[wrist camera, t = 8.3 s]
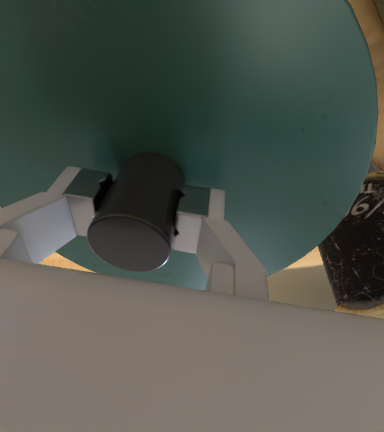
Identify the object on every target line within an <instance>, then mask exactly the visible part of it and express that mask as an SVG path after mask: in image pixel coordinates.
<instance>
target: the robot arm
mask: <svg viewBox="0 0 384 432" xmlns="http://www.w3.org/2000/svg"><path fill="white" fill-rule="evenodd" d="M112 183H113V176H112V174H111V173H108V172H103V171H97V170H92V169H86V168H80V167H73V166H68V167H66V168H65V170H64V171H63V172H62V173H61V174H60V176H59V177H58V178H57V179H56V181H55V182H54V183H53V184H52V185H51V187H50V188H49V189H48V190H47V192H40V193H37V194H35V195H32V196H30V197H28V198H25V199H23V200H20V201H18V202H15V203H13V204H11V205H8V206H6V207H3V208H1V209H0V432H384V319H382V318H376V317H370V316H363V315H357V314H351V313H344V312H338V311H332V310H325V309H319V308H313V307H306V306H300V305H293V304H288V303H281V302H275V301H269V295H268V286H267V285H268V284H267V274H266V268H265V267H264V266H263V264H262V263H261V262H260V261H259V259H258V258H257V257H256V256H255V254H254V253H253V252H252V251H251V249H250V248H249V247H248V246H247V244H246V243H245V242H244V240H243V239H242V238H241V237H240V235H239V234H238V233H237V232H236V230H235V229H234V228H233V227H232V225H231V224H230V223H229V222H228V221H226V220H224V204H225V191H224V190H223V189H215V188H204V187H197V186H191V185H184V184H183V186H182V190H181V198H180V199H179V203H178V208H177V213H176V222H175V228H176V233H175V238H174V244H173V250H177V251H183V252H188V253H194V254H196V256H197V258H198V260H199V262H200V264H201V266H202V268H203V270H204V272H205V274H206V276H207V278H208V281H207V285H206V289H205V290H199V289H193V288H187V287H180V286H174V285H168V284H162V283H155V282H149V281H143V280H136V279H130V278H124V277H117V276H111V275H105V274H99V273H92V272H86V271H80V270H73V269H67V268H61V267H54V266H48V265H42V264H38V263H40V262H41V261H42V260H44V259H45V258H47V257H48V256H50V255H51V254H52V253H54V252H55V251H57V250H58V249H59V248H61V247H62V246H64V245H65V244H66V243H68V242H69V241H71V240H72V239H73V238H75V237H76V235H79V236H87V230H88V227H89V225H90V223H91V221H92V220H93V218H94V216H95V214H96V212H97V210H98V209H99V207H100V205H101V203H102V201H103V199H104V198H105V196H106V194H107V192H108V190H109V188H110V187H111V185H112Z"/></svg>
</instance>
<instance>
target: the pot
mask: <svg viewBox="0 0 384 432" xmlns="http://www.w3.org/2000/svg"><path fill="white" fill-rule="evenodd" d="M375 3H376V7H377V10H378V13H379V15H380V18H381V20H382V22H383V24H384V0H375Z"/></svg>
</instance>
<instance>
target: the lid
mask: <svg viewBox="0 0 384 432" xmlns="http://www.w3.org/2000/svg"><path fill="white" fill-rule="evenodd" d="M377 122H378V100H377V86H376V77H375V73H374V69H373V65H372V60H371V56H370V52H369V48H368V44H367V42H366V39H365V37H364V35H363V32H362V30H361V27H360V25H359V23H358V20H357V18H356V16H355V13H354V11H353V9H352V7H351V5H350V4H349V2H348V1H347V0H0V207H1V208H3V207H6V206H8V205H11V204H13V203H15V202H18V201H20V200H23V199H25V198H28V197H30V196H32V195H35V194H37V193H40V192H47V190H48V189H49V188H50V187H51V185H52V184H53V183H54V182H55V181H56V179H57V178H58V177H59V176H60V174H61V173H62V172H63V171H64V170H65V168H66V167H68V166H73V167H80V168H86V169H92V170H97V171H103V172H108V173H111V174H112V176H113V183H112V185H111V187H110V188H109V190H108V192H107V194H106V196H105V198H104V199H103V201H102V203H101V205H100V207H99V209H98V210H97V212H96V214H95V216H94V218H93V220H92V221H91V223H90V225H89V227H88V230H87V236H79V235H76V237H75V238H73V239H72V240H71V241H69V242H68V243H66V244H65V245H64V246H62V247H61V248H59V249H58V250H57V251H55V252H57V253H58V254H60V255H62V256H63V257H65V258H67V259H69V260H71V261H73V262H74V263H76V264H78V265H80V266H82V267H85V268H87V269H89V270H91V271H94V272H96V273H99V274H105V275H111V276H117V277H124V278H130V279H136V280H143V281H149V282H155V283H162V284H168V285H174V286H180V287H187V288H193V289H199V290H205V289H206V285H207V281H208V278H207V276H206V274H205V272H204V270H203V268H202V266H201V264H200V262H199V260H198V258H197V256H196V254H194V253H188V252H183V251H177V250H173V244H174V238H175V233H176V228H175V222H176V213H177V208H178V203H179V199H180V198H181V190H182V186H183V184H184V185H191V186H197V187H204V188H215V189H223V190H224V191H225V204H224V220H226V221H228V222H229V223H230V224H231V225H232V227H233V228H234V229H235V230H236V232H237V233H238V234H239V235H240V237H241V238H242V239H243V240H244V242H245V243H246V244H247V246H248V247H249V248H250V249H251V251H252V252H253V253H254V254H255V256H256V257H257V258H258V259H259V261H260V262H261V263H262V264H263V266H264V267H265V268H266V274H267V276H269V275H271V274H273V273H275V272H278V271H280V270H282V269H284V268H286V267H288V266H289V265H291V264H293V263H294V262H296V261H297V260H299V259H301V258H302V257H304V256H305V255H306V254H308V253H309V252H310V251H311V250H313V249H314V248H315V247H317V246H318V245H319V244H320V243H321V242H322V241H323V240H324V239H325V238H326V237H327V236H328V235H329V234H330V233H331V232H332V231H333V230H334V229H335V228H336V227H337V225H338V224H339V223H340V222H341V220H342V219H343V218H344V216H345V215H346V214H347V213H348V211H349V209H350V207H351V206H352V204H353V202H354V201H355V199H356V197H357V196H358V194H359V192H360V190H361V187H362V185H363V182H364V180H365V178H366V175H367V173H368V170H369V167H370V163H371V159H372V155H373V151H374V147H375V143H376V133H377Z"/></svg>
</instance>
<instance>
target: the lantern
mask: <svg viewBox="0 0 384 432" xmlns="http://www.w3.org/2000/svg"><path fill="white" fill-rule="evenodd" d="M318 248H319V251H320V254H321V257H322V261H323V264H324V267H325V270H326V273H327V276H328V279H329V282H330V284H331V288H332V291H333V294H334V297H335V300H336V303H337V306H336V307H335V311H338V312H344V313H351V314H357V315H363V316H370V317H376V318H382V319H384V171H383V170H382V169H380V168H379V167H378V166H377V165H376V164H375V163H373V162H372V161H371V163H370V167H369V170H368V173H367V175H366V178H365V180H364V182H363V185H362V187H361V190H360V192H359V194H358V196H357V197H356V199H355V201H354V202H353V204H352V206H351V207H350V209H349V211H348V213H347V214H346V215H345V216H344V218H343V219H342V220H341V222H340V223H339V224H338V225H337V227H336V228H335V229H334V230H333V231H332V232H331V233H330V234H329V235H328V236H327V237H326V238H325V239H324V240H323V241H322V242H321V243H320V244H319V245H318Z"/></svg>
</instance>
